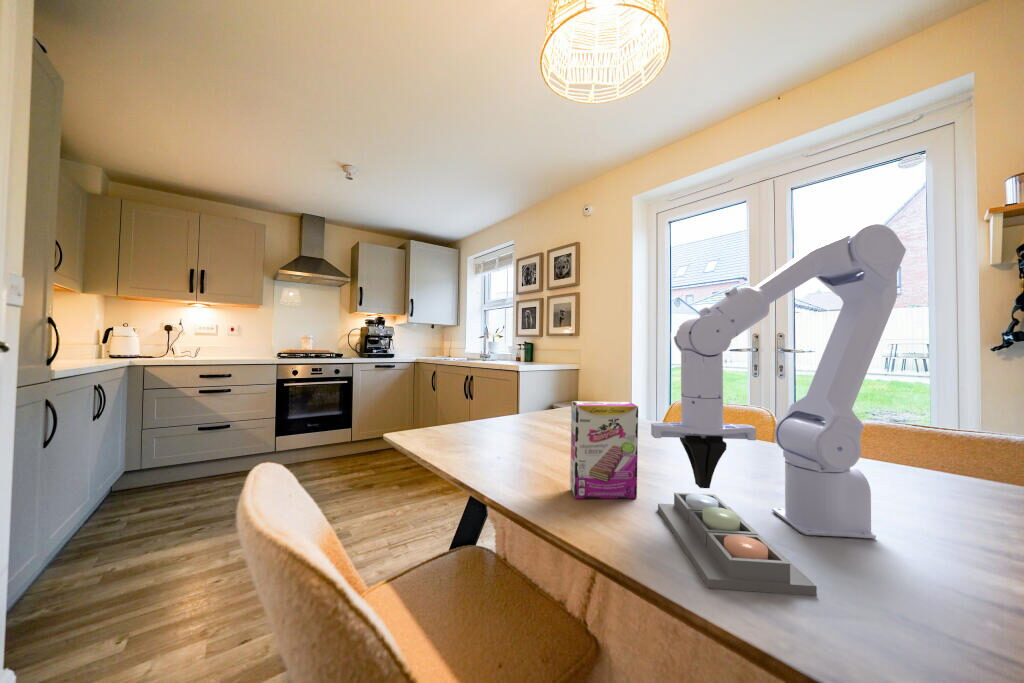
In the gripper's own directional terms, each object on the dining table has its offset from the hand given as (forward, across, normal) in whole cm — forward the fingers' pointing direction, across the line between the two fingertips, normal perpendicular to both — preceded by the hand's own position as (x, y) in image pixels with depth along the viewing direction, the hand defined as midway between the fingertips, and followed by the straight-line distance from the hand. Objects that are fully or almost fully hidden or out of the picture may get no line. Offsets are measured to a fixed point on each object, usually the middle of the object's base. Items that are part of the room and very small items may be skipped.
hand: (702, 485), depth 57 cm
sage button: (+3, 0, +6) cm, 7 cm away
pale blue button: (+4, 0, 0) cm, 4 cm away
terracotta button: (+4, 0, +13) cm, 14 cm away
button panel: (+5, 0, +6) cm, 8 cm away
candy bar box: (+6, +14, -9) cm, 17 cm away
